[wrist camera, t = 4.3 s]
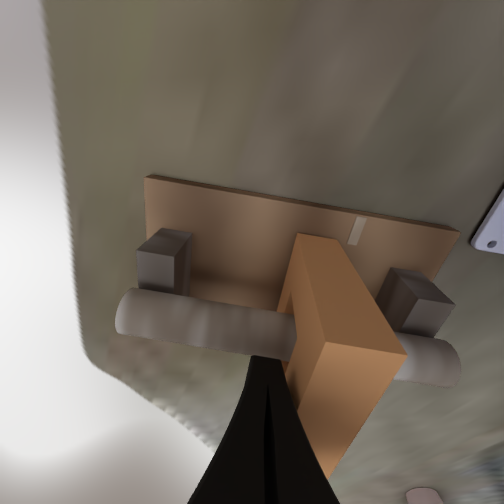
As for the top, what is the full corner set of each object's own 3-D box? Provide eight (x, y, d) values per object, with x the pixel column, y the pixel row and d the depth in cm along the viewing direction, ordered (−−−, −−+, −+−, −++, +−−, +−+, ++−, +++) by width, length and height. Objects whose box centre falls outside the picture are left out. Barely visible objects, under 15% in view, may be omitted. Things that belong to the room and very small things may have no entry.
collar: (270, 334, 19) (270, 475, 11) (297, 232, 15) (325, 341, 7) (302, 339, 19) (324, 484, 11) (337, 239, 15) (408, 355, 7)
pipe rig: (155, 319, 21) (106, 401, 14) (151, 174, 15) (69, 204, 9) (376, 356, 21) (421, 452, 15) (450, 226, 15) (571, 291, 9)
